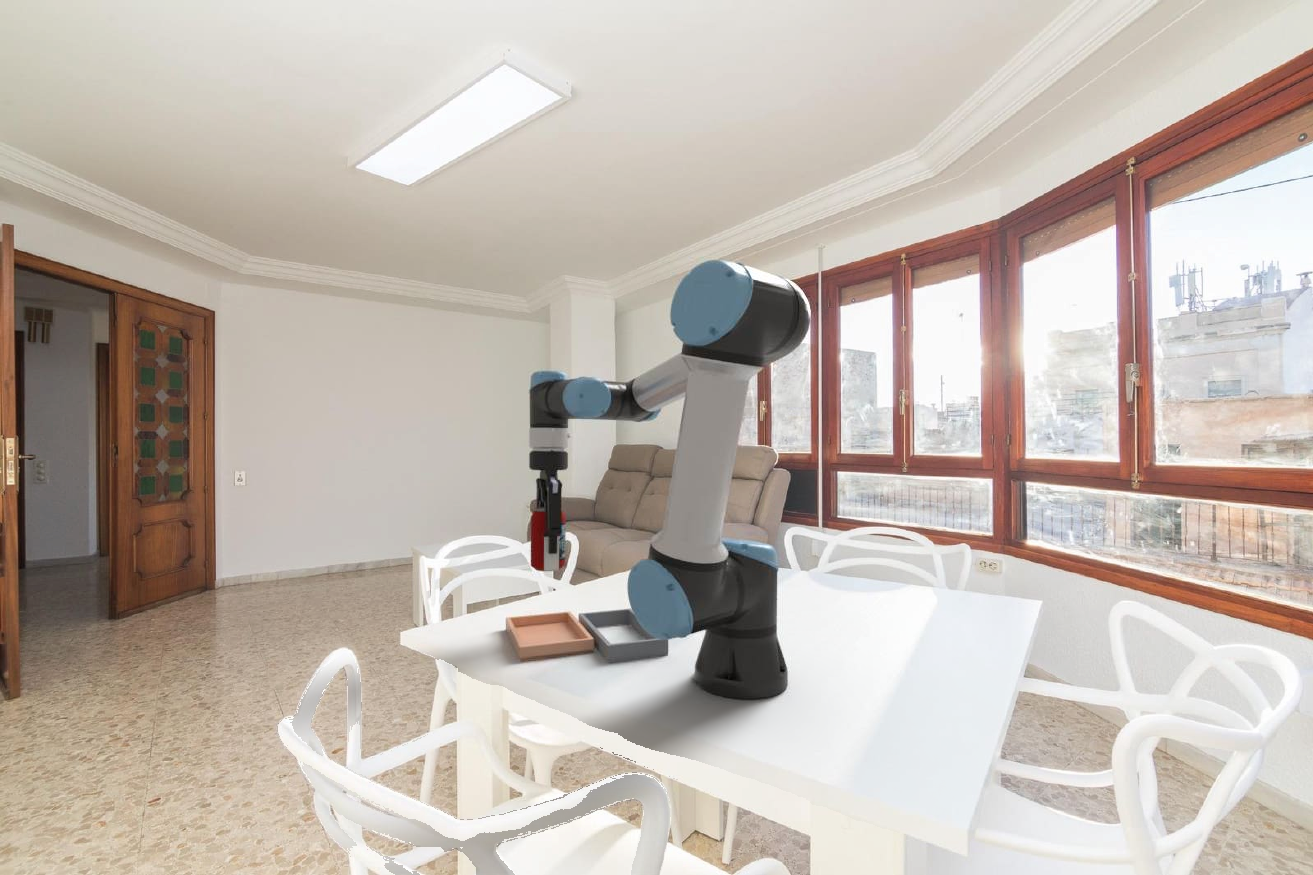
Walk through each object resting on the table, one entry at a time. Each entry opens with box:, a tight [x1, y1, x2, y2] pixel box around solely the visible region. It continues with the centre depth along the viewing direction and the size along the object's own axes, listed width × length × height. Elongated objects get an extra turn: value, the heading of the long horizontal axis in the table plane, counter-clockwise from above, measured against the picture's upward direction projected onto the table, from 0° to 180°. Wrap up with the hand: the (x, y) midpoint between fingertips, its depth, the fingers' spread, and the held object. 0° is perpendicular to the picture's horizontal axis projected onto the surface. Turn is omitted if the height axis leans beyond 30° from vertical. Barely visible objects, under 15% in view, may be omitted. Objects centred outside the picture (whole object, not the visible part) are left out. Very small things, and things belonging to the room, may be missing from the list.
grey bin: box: [578, 607, 669, 664], centre depth 119 cm, size 22×12×3 cm, turn 21°
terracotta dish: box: [505, 611, 595, 662], centre depth 119 cm, size 20×14×2 cm
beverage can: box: [530, 507, 566, 572], centre depth 119 cm, size 7×7×12 cm
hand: (547, 566), depth 119 cm, fingers closed on beverage can, 7 cm apart
